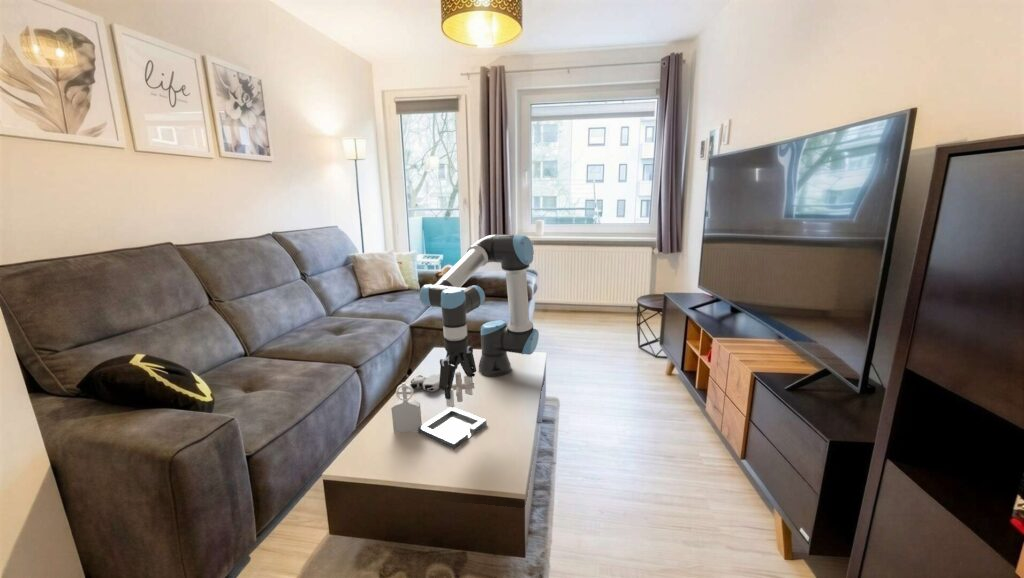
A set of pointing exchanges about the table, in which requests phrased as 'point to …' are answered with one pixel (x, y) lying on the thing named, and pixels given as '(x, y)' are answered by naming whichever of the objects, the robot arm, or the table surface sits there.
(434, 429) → the square metal tray
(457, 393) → the pipe connector
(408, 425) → the gravestone
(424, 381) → the robot toy
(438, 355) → the table surface
